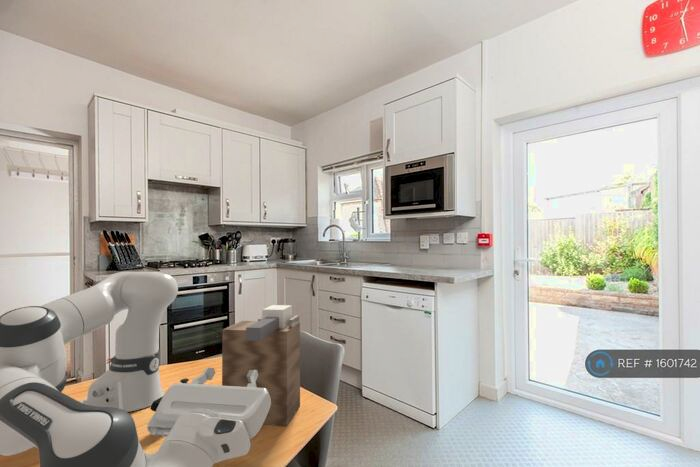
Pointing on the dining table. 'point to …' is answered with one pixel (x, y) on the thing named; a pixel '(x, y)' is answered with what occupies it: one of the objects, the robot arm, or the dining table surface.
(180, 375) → the dining table surface
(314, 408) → the dining table surface
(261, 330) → the grey and white block
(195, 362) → the dining table surface
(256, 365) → the brown wood grain box
